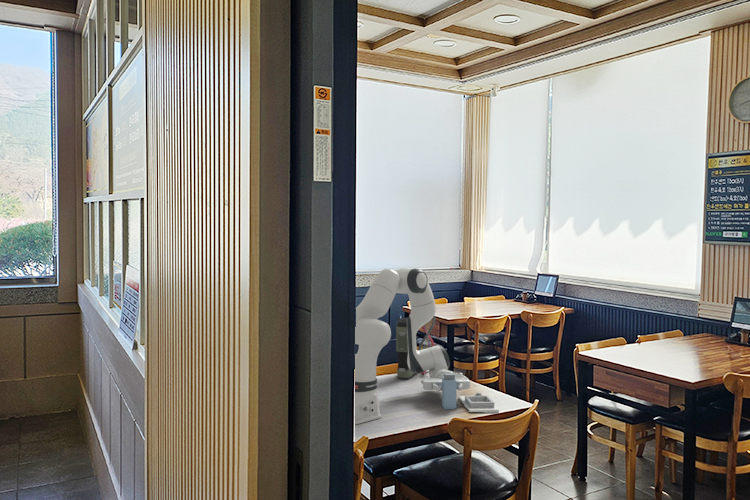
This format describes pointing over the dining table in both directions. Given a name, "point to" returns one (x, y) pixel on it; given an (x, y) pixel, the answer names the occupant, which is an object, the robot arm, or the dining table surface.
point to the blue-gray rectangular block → (449, 391)
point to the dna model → (427, 336)
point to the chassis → (479, 403)
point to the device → (402, 351)
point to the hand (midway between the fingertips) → (449, 388)
